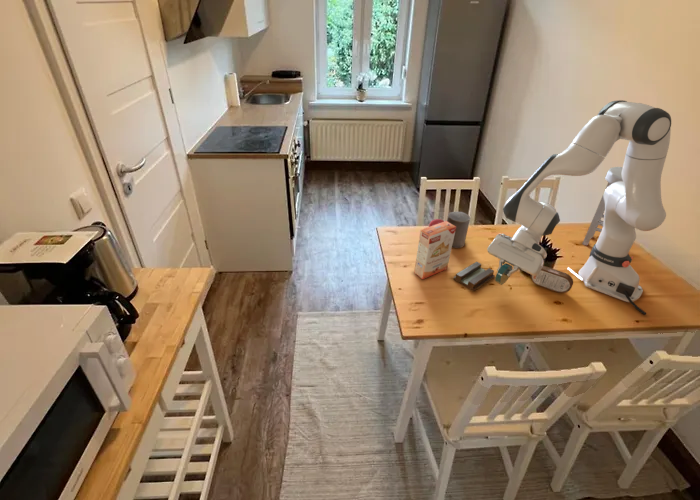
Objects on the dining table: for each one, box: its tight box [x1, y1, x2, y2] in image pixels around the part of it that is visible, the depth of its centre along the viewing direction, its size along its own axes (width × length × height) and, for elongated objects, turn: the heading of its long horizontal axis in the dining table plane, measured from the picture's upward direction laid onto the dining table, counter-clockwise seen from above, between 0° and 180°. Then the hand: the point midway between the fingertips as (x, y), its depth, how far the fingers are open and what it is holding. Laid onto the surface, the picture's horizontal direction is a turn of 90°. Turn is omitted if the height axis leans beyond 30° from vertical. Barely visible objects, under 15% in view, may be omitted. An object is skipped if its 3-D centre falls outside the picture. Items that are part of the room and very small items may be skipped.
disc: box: [494, 262, 514, 286], centre depth 144 cm, size 2×8×8 cm, turn 130°
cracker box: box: [413, 220, 456, 280], centre depth 153 cm, size 14×6×21 cm, turn 123°
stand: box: [452, 261, 496, 292], centre depth 155 cm, size 10×14×3 cm
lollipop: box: [428, 218, 445, 227], centre depth 169 cm, size 8×8×15 cm
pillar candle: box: [446, 211, 471, 249], centre depth 174 cm, size 10×10×15 cm
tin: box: [529, 265, 574, 294], centre depth 149 cm, size 15×3×8 cm, turn 56°
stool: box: [581, 166, 623, 246], centre depth 170 cm, size 16×16×35 cm
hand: (503, 273), depth 143 cm, fingers closed on disc, 2 cm apart
